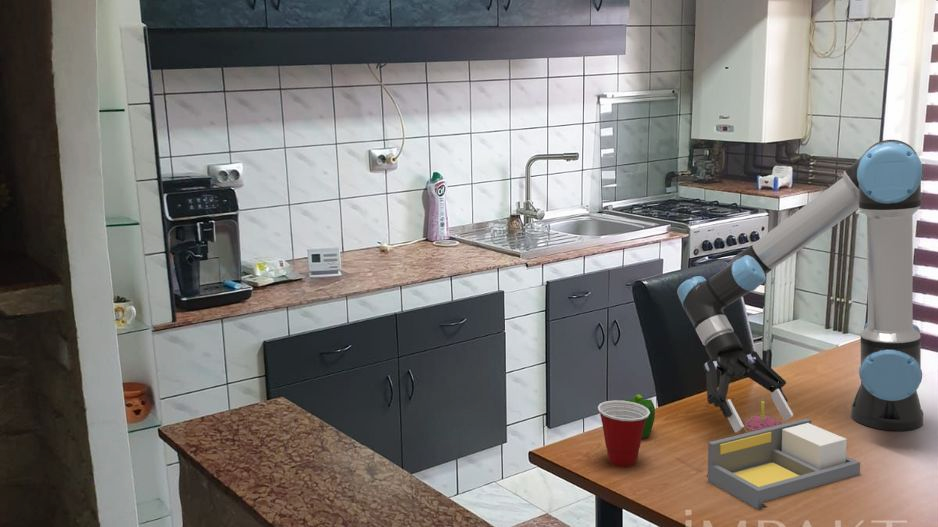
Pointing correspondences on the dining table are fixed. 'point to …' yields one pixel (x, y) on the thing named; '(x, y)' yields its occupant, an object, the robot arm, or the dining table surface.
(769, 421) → the cupcake
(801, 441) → the blank block
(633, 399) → the bell pepper
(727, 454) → the tray
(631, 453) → the plastic cup
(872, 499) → the dining table surface
